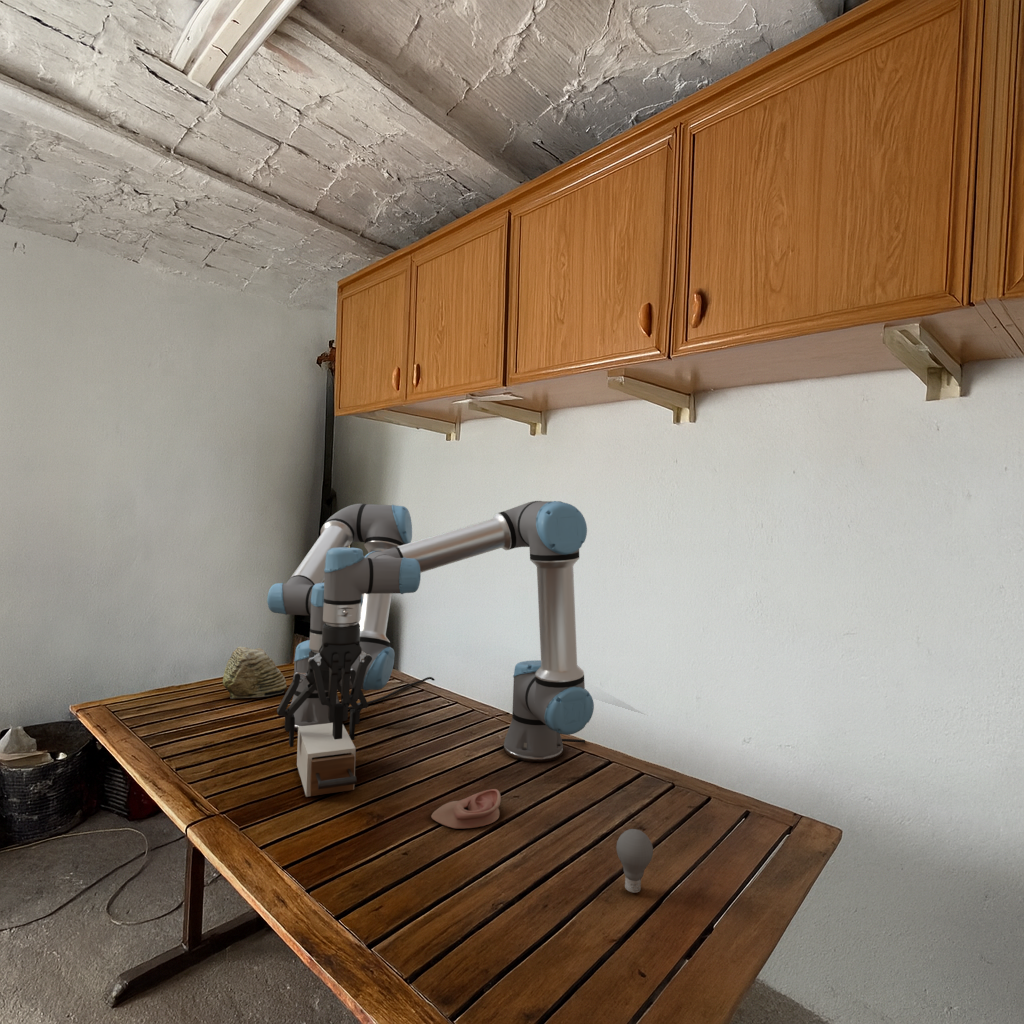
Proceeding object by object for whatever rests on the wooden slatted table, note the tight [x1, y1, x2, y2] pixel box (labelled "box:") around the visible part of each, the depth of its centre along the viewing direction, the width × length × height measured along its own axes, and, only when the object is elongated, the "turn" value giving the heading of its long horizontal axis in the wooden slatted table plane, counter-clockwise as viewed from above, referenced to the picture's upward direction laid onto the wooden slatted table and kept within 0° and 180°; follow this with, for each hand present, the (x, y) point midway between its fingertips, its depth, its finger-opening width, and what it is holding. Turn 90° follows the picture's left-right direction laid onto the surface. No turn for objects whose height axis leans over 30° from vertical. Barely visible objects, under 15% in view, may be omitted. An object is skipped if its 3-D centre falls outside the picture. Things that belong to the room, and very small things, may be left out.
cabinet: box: [296, 723, 357, 798], centre depth 143 cm, size 17×10×9 cm, turn 25°
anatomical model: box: [430, 788, 502, 830], centre depth 128 cm, size 13×4×12 cm
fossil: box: [222, 646, 288, 699], centre depth 198 cm, size 9×18×15 cm, turn 132°
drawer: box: [309, 753, 357, 797], centre depth 138 cm, size 22×9×7 cm, turn 25°
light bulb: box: [615, 828, 654, 894], centre depth 106 cm, size 6×6×10 cm
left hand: (322, 741), depth 147 cm, fingers open, 13 cm apart
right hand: (337, 736), depth 131 cm, fingers closed
